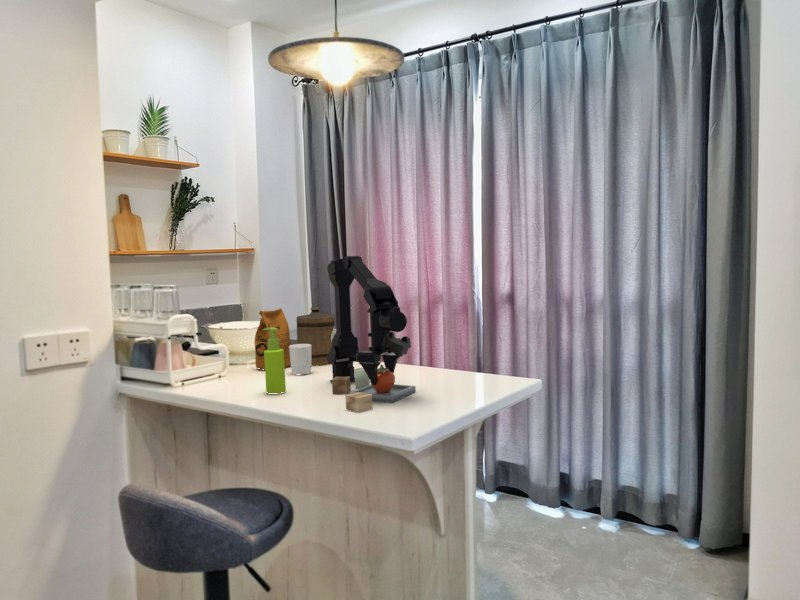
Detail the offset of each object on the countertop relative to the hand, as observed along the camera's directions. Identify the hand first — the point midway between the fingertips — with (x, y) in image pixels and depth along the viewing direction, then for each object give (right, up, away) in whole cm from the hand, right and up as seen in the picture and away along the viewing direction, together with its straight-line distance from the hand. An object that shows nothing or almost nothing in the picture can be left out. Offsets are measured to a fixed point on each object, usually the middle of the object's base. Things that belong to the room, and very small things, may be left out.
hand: (382, 381), depth 185 cm
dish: (0, -4, 0) cm, 4 cm away
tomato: (0, -3, 0) cm, 3 cm away
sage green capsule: (-6, -3, +11) cm, 13 cm away
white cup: (-30, -2, +39) cm, 49 cm away
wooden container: (-27, -1, +60) cm, 66 cm away
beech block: (-6, -6, -15) cm, 17 cm away
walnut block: (-12, -4, +6) cm, 15 cm away
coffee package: (-42, -2, +52) cm, 67 cm away
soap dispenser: (-33, -5, +10) cm, 35 cm away
